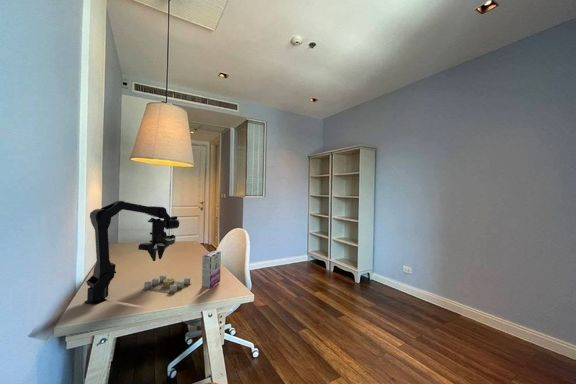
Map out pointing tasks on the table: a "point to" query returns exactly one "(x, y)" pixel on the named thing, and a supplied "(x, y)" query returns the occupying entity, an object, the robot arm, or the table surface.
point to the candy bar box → (211, 269)
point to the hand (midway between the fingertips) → (157, 260)
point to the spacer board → (173, 289)
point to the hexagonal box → (168, 282)
